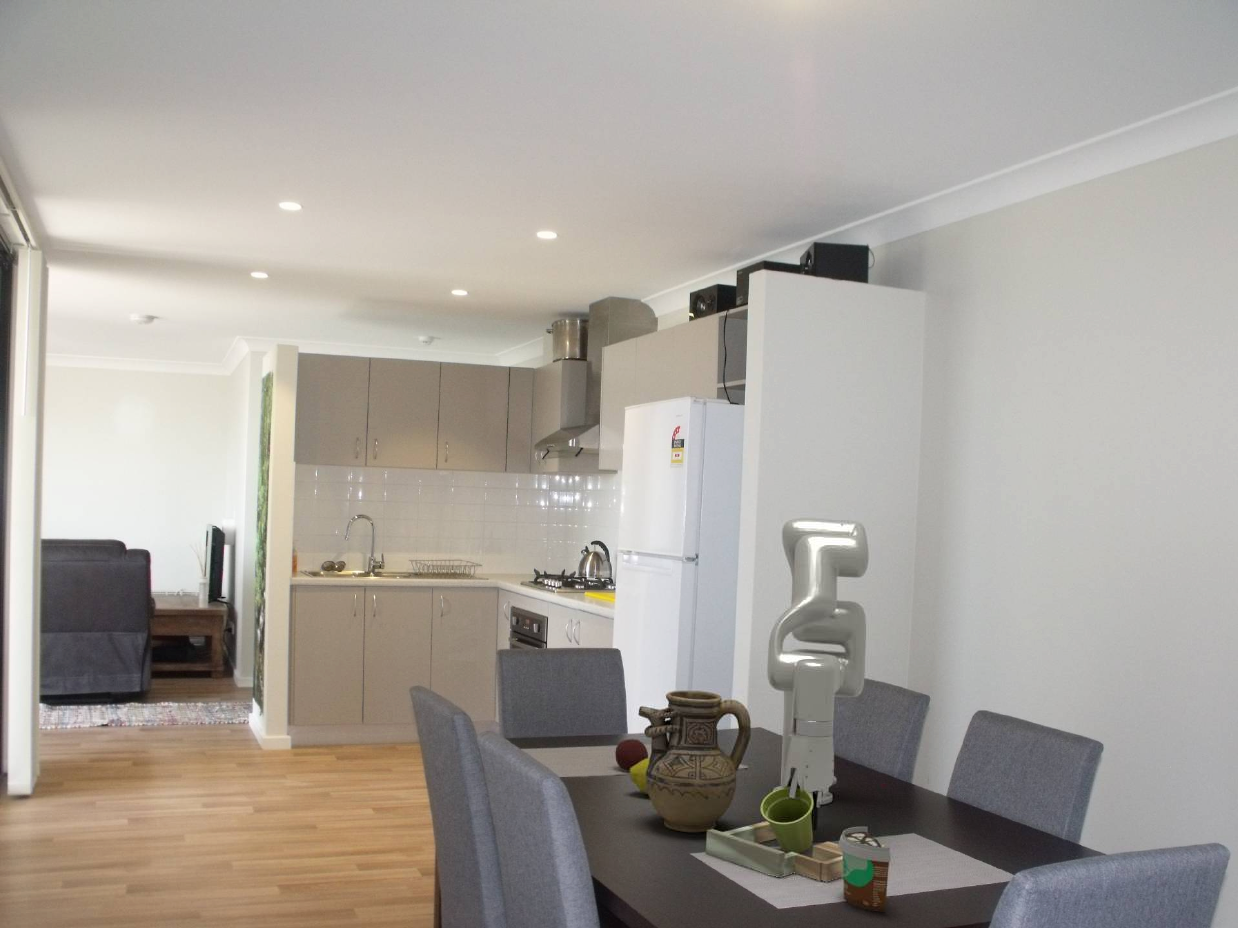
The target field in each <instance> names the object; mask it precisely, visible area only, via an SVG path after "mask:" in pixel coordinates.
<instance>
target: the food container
mask: <svg viewBox="0 0 1238 928" xmlns="http://www.w3.org/2000/svg"><path fill="white" fill-rule="evenodd" d="M880 844H881V843H880V842H879V840H878V839H876V838H874V837H872V836H871V835H870V833H868V826H854V827H849V828H846V829H844V830H843V831H842V833H841V835H840V838H839V842H838V846H839V848H840V849H841V850H842V851H843V877H842V879H843V899H844V901H845V900H846V901H847V902H846V901H845V902H846V903H847V904H849V903H850V904H849V905H851V904H852V906H854V907H856V906H857V908H860V909H863V910H867V911H873V912H874V911H875V912H886V907H887V895H888V894H887V893H888V881H889V867H890V866H889V865H890V863H891V848H890V847H886V846H885V847H882V846H881V845H880Z"/></svg>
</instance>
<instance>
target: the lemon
mask: <svg viewBox="0 0 1238 928" xmlns="http://www.w3.org/2000/svg"><path fill="white" fill-rule="evenodd" d="M649 759H650V757H648V758H647V759H644V760H642V761H641V762H639V763H638V764H636V765H634V766H633V767H631V768H630V771H629V775H630V777H629V778H630V781H632V782H633V783H634V784H635V786H636V787H637V789H639V790H640V791H641V792H642V793H645V794H647V795H649V793H648V790H647V786H646V770H647V767H648V764H649Z"/></svg>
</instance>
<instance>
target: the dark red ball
mask: <svg viewBox="0 0 1238 928" xmlns="http://www.w3.org/2000/svg"><path fill="white" fill-rule="evenodd" d="M614 753H615V761H616V765H618V766H619V768H621V769H622V770H625V771H628V770H629V771H628V772H630V768H631V767H633V766H634V765H636V764H638V763H639V762H641V761H642V760H644V759H647V758H649V752H648V750H647V748H646V745H645V744H644V743H643V742H642V741H641V740H639V739H634V738H632V739H631V738H630V739H624V740H622V741H621V742H619V743H618V744H617V746H616V748H615V752H614Z"/></svg>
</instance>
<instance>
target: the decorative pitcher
mask: <svg viewBox="0 0 1238 928" xmlns="http://www.w3.org/2000/svg"><path fill="white" fill-rule="evenodd" d="M665 698H666V700H667V702H668V704H667V707H666V708H663V709H662V708H661V709H657V708H654V707H648V706H642V705H641V706H640V707H639V708H638V714H637V715H638V716H639V717H642V718H645V719H647V720H648V721H649V723H650V725H648V726H647V727H645V729H644V732H643V734H644V735H645V738H649V739H651V742H650V744H651V745H650V746H651V749H650V750H651V751H650V757H649V758H650V759H649V764H648V767H647V770H646V786H647V790H648V793H649V794H648V798H649V799H650V802H651V804H652V806H653V808H654V809H655V811H656V812H657V814H658V815H659V816H660V817H662V819H664V821H663V824H664V826H665V827H666V828H667V829H670V830H672V831H677V832H682V833H691V834H692V833H693V834H695V833H704V832H707V830H711V829H715V828H716V823H715V822H716V821H717V820H718V819H720V818H721V817H722V816H723V815H724V814H725V813H726V812H727V810H728V809H729V808H730V806H731V803H732V802H733V799H734V796H735V794H736V789H737V772H738V770H739V767H740V765H741V763H742V761H743V760H744V759H743V758H744V756H745V754H746V751H747V748H748V747H749V746H748V745H749V743H750V739H751V735H752V734H751V733H752V729H751V722H752V721H751V717H750V716H751V715H750V714H749V711H748V709H747V707H745V705H744V704H743V703H742V702H740V701H739V700H736V699H725V700H722V696H721V695H719V694H717V693H713V692H709V691H701V690H674V691H673V690H672V691H670V692H668V693H666V694H665ZM726 715H732V716H734V717H735V718H736V722H737V726H738V727H737V728H738V735H737V737H736V740H735V743H734V746H733V748H732V751H731V753H730V755H729V756H728V755H727V754H726V753H725V752H724V751H723V749H722V748H721V747H720V746H719V745H718V743H719V742H718V735H719V734H718V724H719V722H720V720H722V718H723V717H724V716H726Z"/></svg>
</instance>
